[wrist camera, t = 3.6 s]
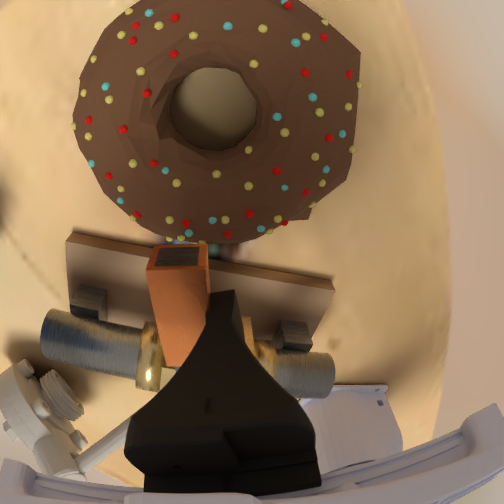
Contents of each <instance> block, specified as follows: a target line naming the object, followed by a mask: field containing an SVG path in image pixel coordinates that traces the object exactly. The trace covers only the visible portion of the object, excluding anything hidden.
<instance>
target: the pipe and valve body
mask: <svg viewBox="0 0 504 504" xmlns="http://www.w3.org/2000/svg"><path fill="white" fill-rule="evenodd" d="M70 312H71V313H69V312H65V311H61V310H58V309H51V310H49V312H48V313H47V315H46V317H45V319H44V322H43V325H42V329H41V336H40V346H41V352H42V354H43V356H44V357H45V358H48V359H51V360H55V361H58V362H62V363H65V364H69V365H73V366H76V367H80V368H84V369H88V370H92V371H96V372H100V373H105V374H109V375H114V376H118V377H123V378H128V379H133V380H136V388H137V389H142V390H148V391H153V392H159V391H160V390H161V389H162V388H163V387H164V386H165V385H166V384H167V383H168V382H169V381H170V379H171V378H172V377H173V376H174V374H175V373H176V371H175V367H172V366H167V364H166V361H165V357H164V353H163V349H162V345H161V341H160V337H159V333H158V328H157V324H156V323H153V322H148V321H145V323H144V326H143V329H141V328H136V327H131V326H126V325H121V324H117V323H112V322H108V302H107V289H103V288H98V287H93V286H89V285H85V284H80V286H79V287H78V289H77V291H76V293H75V295H74V297H73V299H72V300H71V302H70ZM241 318H242V323H243V327H244V335H245V343H246V345H247V346H248V348H249V349H250V351H251V352H252V353H253V355H254V356H255V357H256V359H257V360H258V361H259V363H260V364H261V365H262V366H263V367H264V368H265V370H266V371H267V372H268V373H269V374H270V375H271V376H272V377H273V378H274V379H275V380H276V381H277V382H278V383H279V384H280V385H281V386H282V387H283V388H284V389H285V390H286V391H287V392H288V393H290V394H291V395H292V396H293V397H294V398H300V399H325V398H326V397H327V396H328V395H329V394H330V393H331V391H332V388H333V385H334V381H335V365H334V361H333V359H332V357H331V355H329V354H328V353H318V352H309V351H310V349H311V347H312V346H313V342H312V339H311V336H310V333H309V329H308V326H307V323H306V322H298V321H290V320H282V319H280V321H279V323H278V326H277V328H276V330H275V333H274V335H273V337H272V340H264V339H256V338H253V333H252V325H251V317H244V316H241Z"/></svg>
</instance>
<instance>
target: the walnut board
mask: <svg viewBox="0 0 504 504" xmlns="http://www.w3.org/2000/svg"><path fill="white" fill-rule="evenodd" d="M152 249H153V248H149V247H144V246H139V245H134V244H129V243H124V242H118V241H113V240H108V239H103V238H98V237H93V236H88V235H83V234H78V233H73V232H72V234H71V235H70V236H69V237H68V239H67V240H66V262H67V278H68V290H69V301H70V302H71V300H72V299H73V297H74V295H75V293H76V291H77V289H78V287H79V286H80V284H85V285H89V286H93V287H98V288H103V289H107V302H108V322H112V323H117V324H121V325H126V326H131V327H136V328H141V329H143V326H144V323H145V321H148V322H153V323H156V320H155V315H154V311H153V306H152V302H151V297H150V292H149V287H148V282H147V277H146V272H145V270H146V267H147V264H148V261H149V258H150V255H151V252H152ZM208 263H209V278H210V291H211V293H213V292H220V291H226V290H232V289H235V293H236V297H237V301H238V306H239V310H240V314H241V316H244V317H251V325H252V333H253V338H256V339H264V340H272V337H273V335H274V333H275V330H276V328H277V326H278V323H279V321H280V319H282V320H290V321H298V322H306V323H307V326H308V329H309V333H310V336H311V338H312V336H313V334H314V332H315V330H316V328H317V326H318V325H319V323H320V321H321V319H322V317H323V315H324V313H325V311H326V309H327V307H328V305H329V303H330V301H331V299H332V297H333V295H334V293H335V289H334V286H333V284H332V282H331V281H330V280H325V279H319V278H313V277H307V276H302V275H296V274H290V273H285V272H279V271H274V270H268V269H262V268H257V267H251V266H246V265H240V264H235V263H229V262H224V261H218V260H213V259H208Z"/></svg>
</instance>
